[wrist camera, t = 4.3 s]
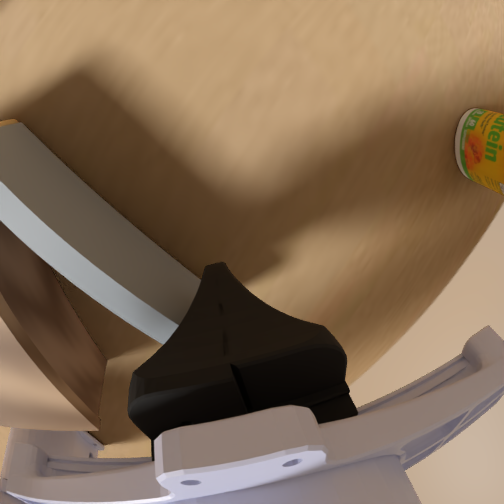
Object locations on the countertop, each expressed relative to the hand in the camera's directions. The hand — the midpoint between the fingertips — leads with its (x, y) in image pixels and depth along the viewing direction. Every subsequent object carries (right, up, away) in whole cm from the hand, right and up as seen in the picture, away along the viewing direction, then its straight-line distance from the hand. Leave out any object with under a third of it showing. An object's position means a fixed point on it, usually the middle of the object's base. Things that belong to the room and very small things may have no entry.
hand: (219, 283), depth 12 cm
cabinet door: (-6, +3, 0) cm, 6 cm away
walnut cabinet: (-14, -1, 0) cm, 14 cm away
